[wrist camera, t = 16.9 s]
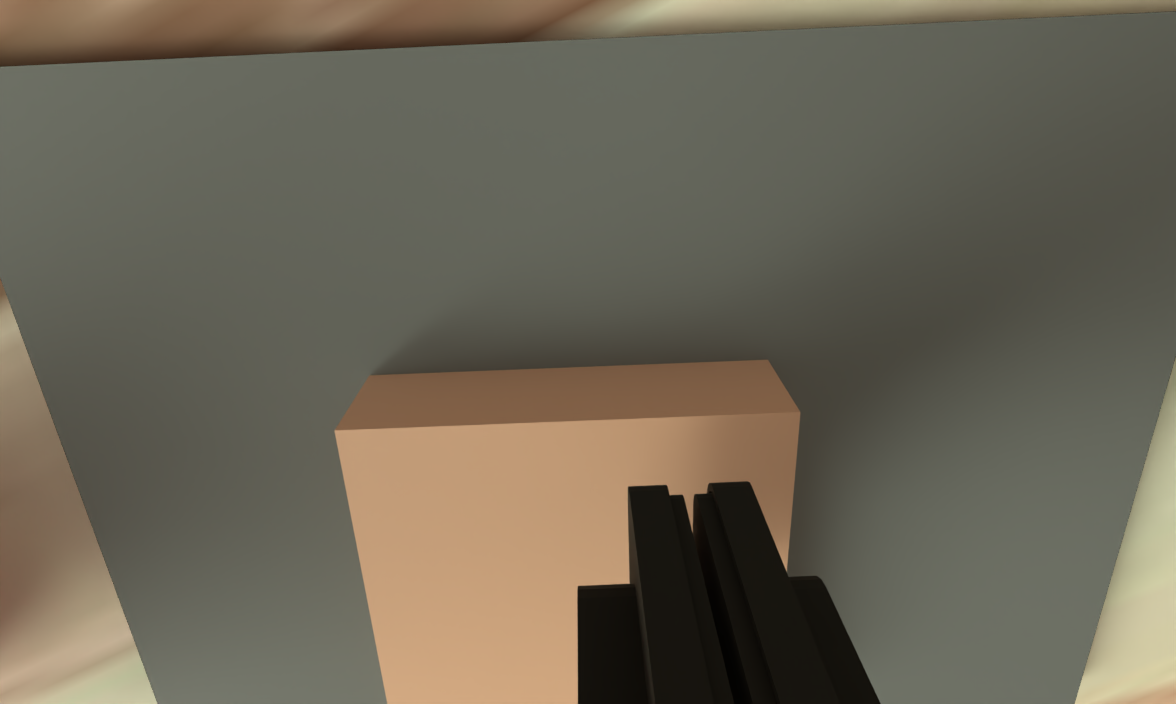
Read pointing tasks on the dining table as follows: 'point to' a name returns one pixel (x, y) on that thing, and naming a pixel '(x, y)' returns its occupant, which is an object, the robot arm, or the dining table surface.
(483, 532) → the tile
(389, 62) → the mat
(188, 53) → the dining table surface
